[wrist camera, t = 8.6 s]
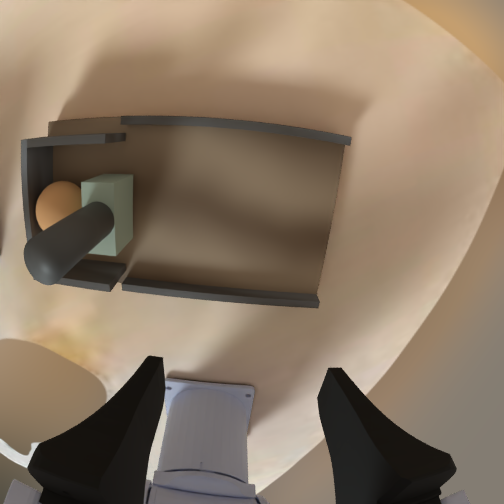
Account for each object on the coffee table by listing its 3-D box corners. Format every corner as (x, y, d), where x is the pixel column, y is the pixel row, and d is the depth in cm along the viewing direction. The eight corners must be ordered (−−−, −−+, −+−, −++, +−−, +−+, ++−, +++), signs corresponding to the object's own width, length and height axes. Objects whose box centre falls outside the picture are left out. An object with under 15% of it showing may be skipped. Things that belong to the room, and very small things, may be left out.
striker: (133, 237, 18) (70, 310, 10) (105, 235, 18) (33, 302, 10) (133, 174, 17) (56, 211, 9) (103, 173, 17) (17, 209, 9)
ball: (54, 226, 18) (97, 228, 18) (29, 244, 15) (75, 248, 15) (51, 176, 17) (95, 176, 17) (23, 187, 13) (71, 187, 14)
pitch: (312, 293, 22) (325, 325, 18) (62, 268, 20) (36, 292, 17) (340, 136, 18) (364, 138, 14) (56, 121, 16) (22, 123, 12)
